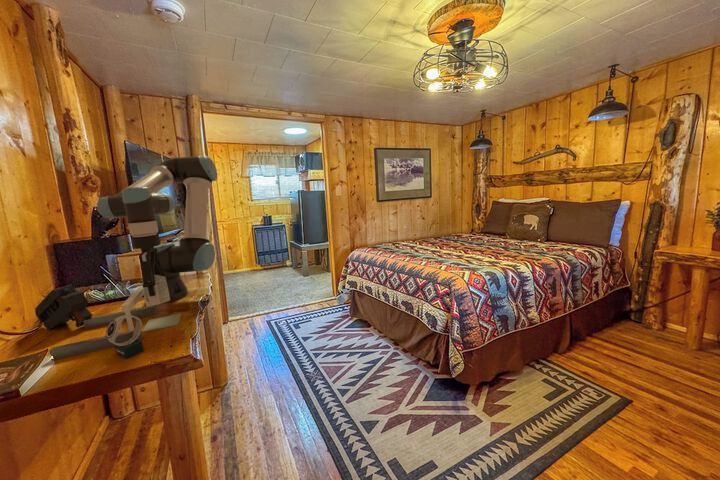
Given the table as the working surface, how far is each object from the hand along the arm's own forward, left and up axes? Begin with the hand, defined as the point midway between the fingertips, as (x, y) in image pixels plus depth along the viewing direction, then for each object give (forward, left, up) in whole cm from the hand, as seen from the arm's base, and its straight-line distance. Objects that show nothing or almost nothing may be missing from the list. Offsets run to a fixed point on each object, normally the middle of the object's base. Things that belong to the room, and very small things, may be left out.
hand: (158, 300), depth 101 cm
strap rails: (+14, -1, -8) cm, 17 cm away
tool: (+32, -17, -8) cm, 37 cm away
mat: (0, 0, -8) cm, 8 cm away
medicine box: (0, 0, -1) cm, 1 cm away
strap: (+6, -1, -5) cm, 8 cm away
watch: (+5, +19, -9) cm, 21 cm away
